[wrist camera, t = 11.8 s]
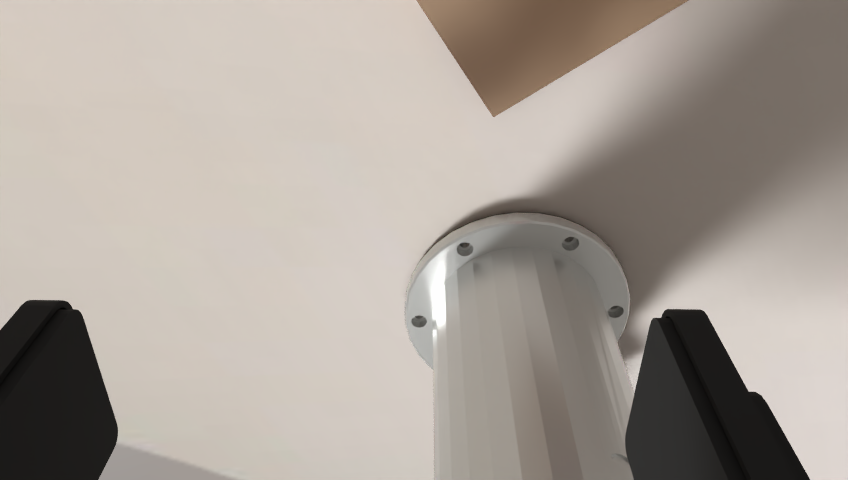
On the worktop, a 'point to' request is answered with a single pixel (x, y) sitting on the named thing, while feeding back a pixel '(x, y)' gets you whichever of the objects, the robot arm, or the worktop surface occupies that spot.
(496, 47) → the socket stand
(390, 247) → the worktop surface
